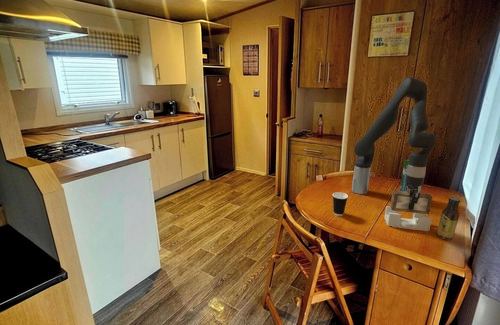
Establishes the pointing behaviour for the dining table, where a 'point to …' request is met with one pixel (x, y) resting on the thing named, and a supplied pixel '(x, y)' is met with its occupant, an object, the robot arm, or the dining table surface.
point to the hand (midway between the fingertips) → (409, 206)
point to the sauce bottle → (449, 219)
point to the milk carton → (403, 184)
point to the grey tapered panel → (402, 202)
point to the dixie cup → (339, 203)
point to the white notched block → (407, 220)
